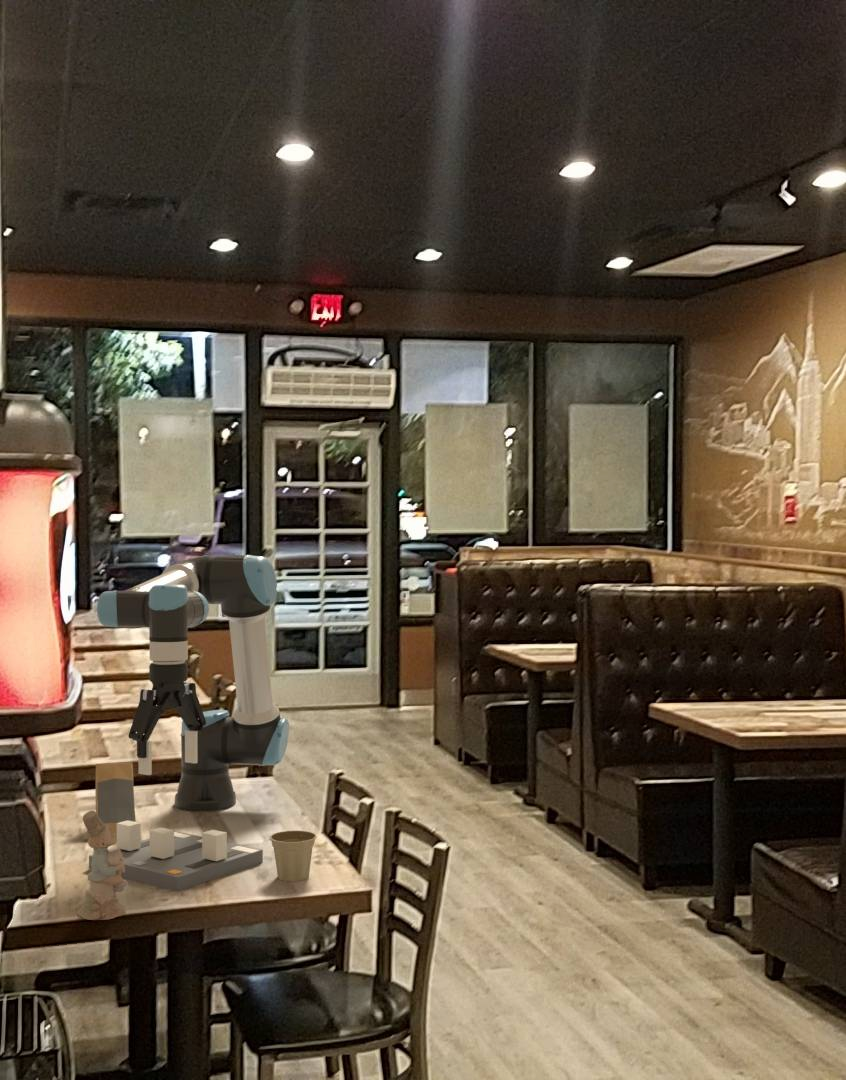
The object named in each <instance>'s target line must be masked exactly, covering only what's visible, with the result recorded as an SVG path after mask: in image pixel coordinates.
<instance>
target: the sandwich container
mask: <svg viewBox="0 0 846 1080" xmlns="http://www.w3.org/2000/svg"><path fill="white" fill-rule="evenodd" d="M94 793H95V812H96V813H97V814H98V816H99V817H100V819H101V820H102V822H103V823H104V824H105V825H107V826H109V827H110V828H111V829H110V833H115V839H116V842H117V823H120V822H123V821H127V820H128V821H133V822H137V821H136V810H135V809H136V807H135V789H134V763H133V761H132V762H131V761H129V762H107V763H96V764H95V792H94Z"/></svg>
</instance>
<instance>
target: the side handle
mask: <svg viewBox="0 0 846 1080" xmlns="http://www.w3.org/2000/svg"><path fill="white" fill-rule="evenodd" d="M141 827H142V825H141V822H137V821H136V822H133V821H128V820H127V821H123V822H120V823H117V841H116V848H120V849H123V850H127V851H132V850H135V849H139V848H141V841H142V839H141V838H142V829H141Z"/></svg>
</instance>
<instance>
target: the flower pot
mask: <svg viewBox="0 0 846 1080" xmlns="http://www.w3.org/2000/svg"><path fill="white" fill-rule="evenodd" d="M317 837H318V835H317V834H316V833H315V832H312V831H309V830H297V829H296V830H294V829H293V830H285V831H283V830H282V831H278V832H274V833H272V834H271V835H270V836H269V840H270V841H271V846H272V847H273V853H274V859H275V866H276V874H277V879H278V880H279V881H284V882H299V881H304V880H307V879H308V878H310V872H311V871H310V870H311V863H312V856H313V855H312V854H313V847H314V845H315V842H316V841H315V840H317Z"/></svg>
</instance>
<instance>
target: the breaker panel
mask: <svg viewBox="0 0 846 1080" xmlns="http://www.w3.org/2000/svg"><path fill="white" fill-rule="evenodd" d="M116 849H118V848H117V847H115V848H111V849H108V851H109V852H110V851H113V850H116ZM120 850H121V852H122V856H123V858H124V859H125V861H124V865H125V872H123V873H121V877H122V878H123V879H125V880H131V881H134V882H138V883H143V884H146V885H151V886H154V887H155V886H156V887H158V888H163V889H168V890H171V891H175V892H180V891H184V890H185V889H189V888H192V887H195V886H198V885H200V884H204V883H206V881H207V882H209V881H212V880H215V879H218V878H221V877H223V876H226V875H230V874H232V873H235V871H236V872H239V871H242V870H244V868H245V869H247V868H250V867H253V866H256V865H260V864H262V863H263V862H264V861H263V859H264V858H263V855H264V854H263V853H264V852H263V851H264V850H263V849H261V848H256V847H251V846H247V845H243V844H238V843H234V842H233V843H232V842H228V841H227V858H225V859H222V860H219V861H213V860H208V859H204V858H202V835H201V836H199V835H196V834H192V833H186V832H182V831H177V830H174V856H171V857H168V858H165V859H161V858H157V857H153V856H150V837H149V838H146V839H143V840H142V839H141V848H139V849H135V850H132V851H127V850H123V849H120ZM92 858H93V854H90V855H88V870H89V869H91V871H92V866H91V863H92ZM241 869H242V870H241ZM229 873H230V874H229Z"/></svg>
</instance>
